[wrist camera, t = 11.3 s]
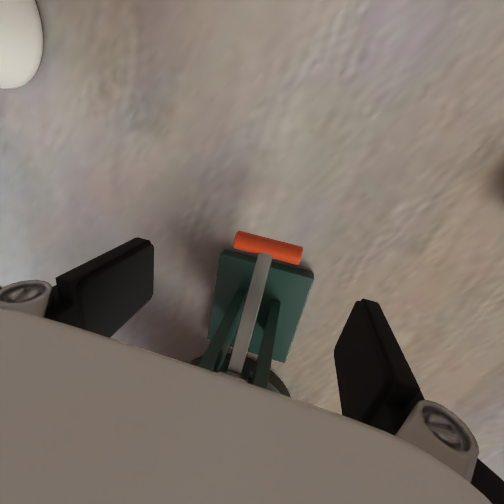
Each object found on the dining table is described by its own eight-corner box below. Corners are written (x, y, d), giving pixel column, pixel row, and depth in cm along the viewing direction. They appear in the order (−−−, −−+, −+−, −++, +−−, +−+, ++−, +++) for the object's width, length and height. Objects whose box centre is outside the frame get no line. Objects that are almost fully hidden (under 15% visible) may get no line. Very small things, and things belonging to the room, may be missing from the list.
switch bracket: (224, 248, 26) (159, 321, 14) (313, 272, 25) (322, 372, 13) (211, 331, 31) (154, 436, 19) (285, 354, 30) (273, 481, 18)
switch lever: (240, 232, 20) (235, 228, 17) (301, 248, 19) (305, 245, 17) (198, 386, 19) (188, 403, 17) (259, 407, 19) (257, 427, 16)
